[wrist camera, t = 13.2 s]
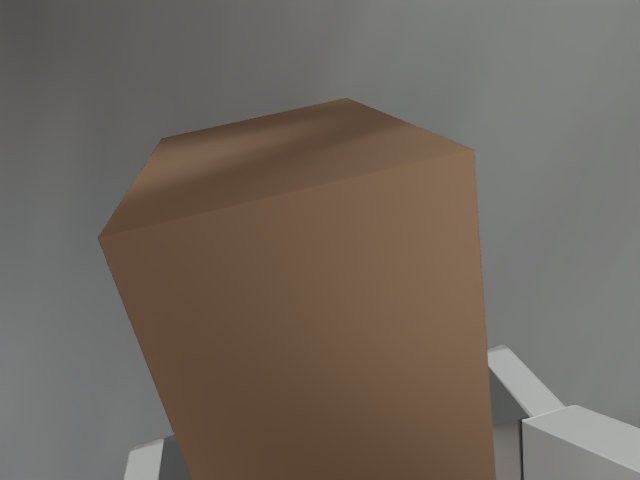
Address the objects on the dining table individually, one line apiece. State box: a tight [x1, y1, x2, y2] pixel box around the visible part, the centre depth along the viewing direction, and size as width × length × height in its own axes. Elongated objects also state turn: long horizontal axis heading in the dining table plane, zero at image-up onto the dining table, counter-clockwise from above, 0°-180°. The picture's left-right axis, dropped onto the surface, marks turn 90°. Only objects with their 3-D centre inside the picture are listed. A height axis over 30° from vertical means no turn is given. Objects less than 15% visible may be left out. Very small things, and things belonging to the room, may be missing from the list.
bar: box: [98, 98, 496, 480], centre depth 8 cm, size 3×10×4 cm, turn 11°
